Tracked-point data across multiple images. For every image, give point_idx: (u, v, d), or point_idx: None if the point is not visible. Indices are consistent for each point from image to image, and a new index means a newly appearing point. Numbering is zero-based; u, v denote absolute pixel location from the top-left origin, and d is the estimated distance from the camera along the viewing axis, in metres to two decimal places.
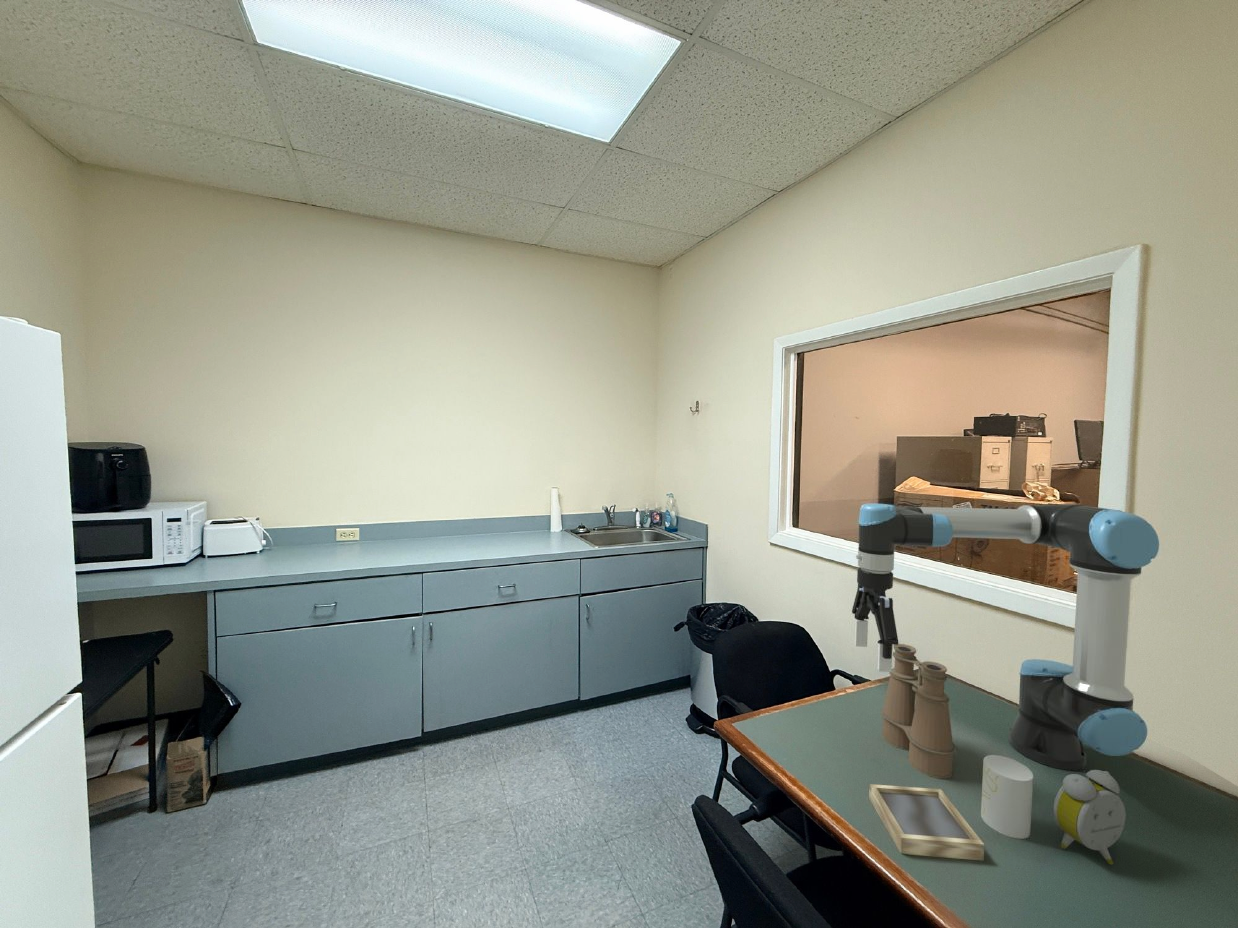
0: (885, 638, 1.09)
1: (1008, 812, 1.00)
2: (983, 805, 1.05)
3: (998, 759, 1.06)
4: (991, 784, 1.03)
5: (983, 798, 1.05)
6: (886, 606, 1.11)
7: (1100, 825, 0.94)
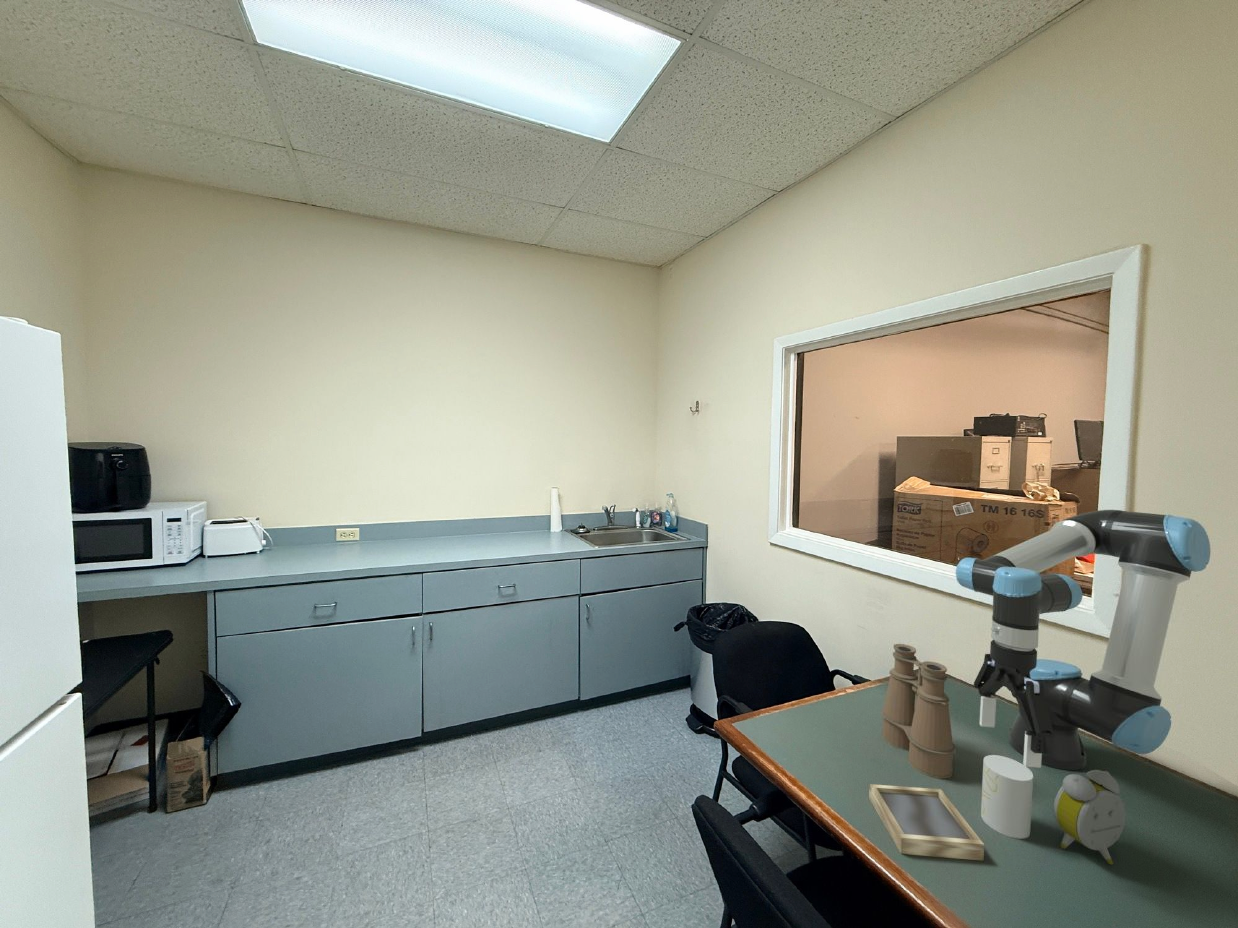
0: (1037, 730, 0.93)
1: (1008, 812, 1.00)
2: (983, 805, 1.05)
3: (998, 759, 1.06)
4: (991, 784, 1.03)
5: (983, 798, 1.05)
6: (1035, 691, 0.96)
7: (1100, 825, 0.94)
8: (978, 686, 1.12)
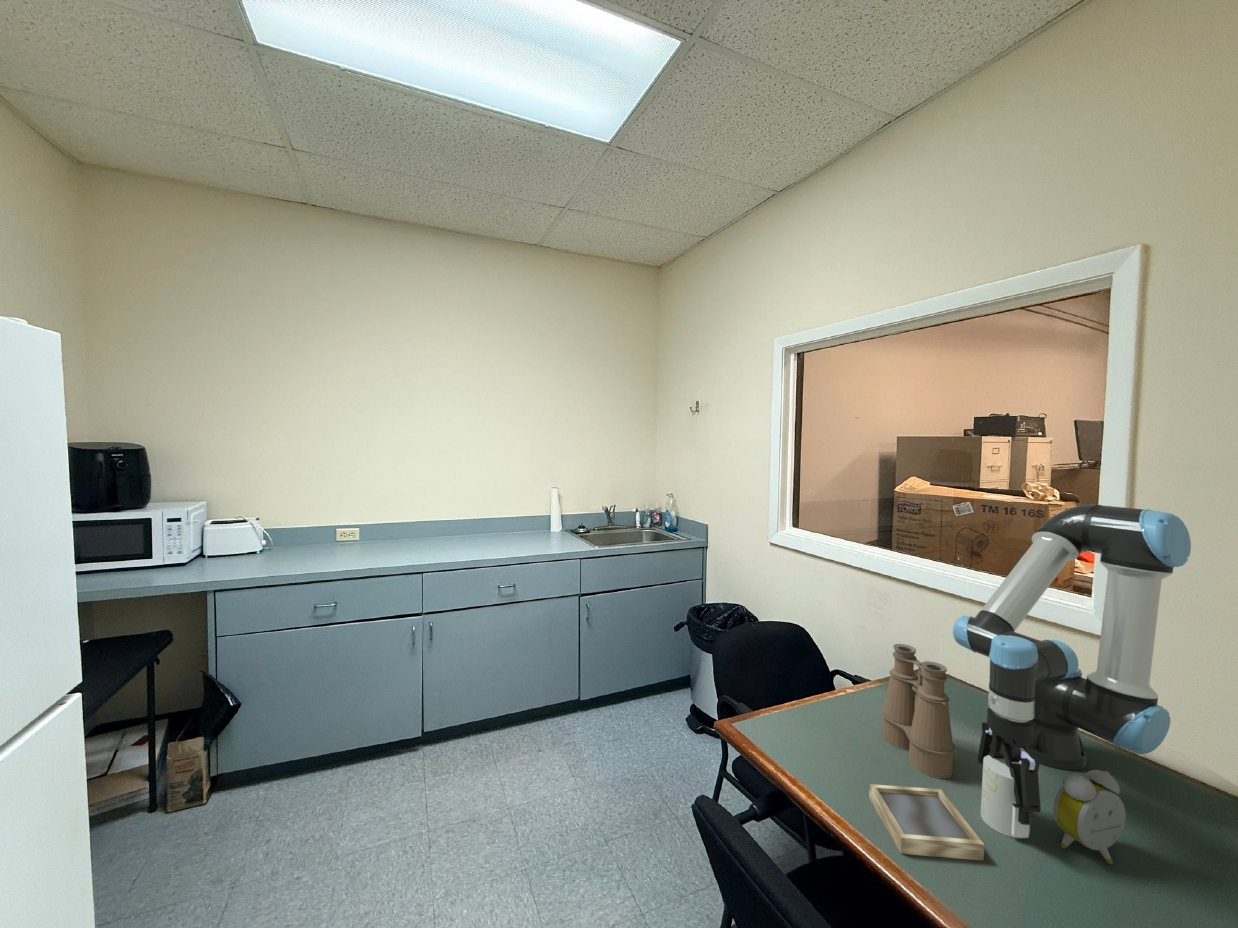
0: (1025, 804, 0.97)
1: (1008, 812, 1.00)
2: (983, 805, 1.05)
3: (998, 758, 1.06)
4: (991, 784, 1.03)
5: (983, 798, 1.05)
6: (1030, 769, 0.97)
7: (1100, 825, 0.94)
8: (982, 762, 1.10)
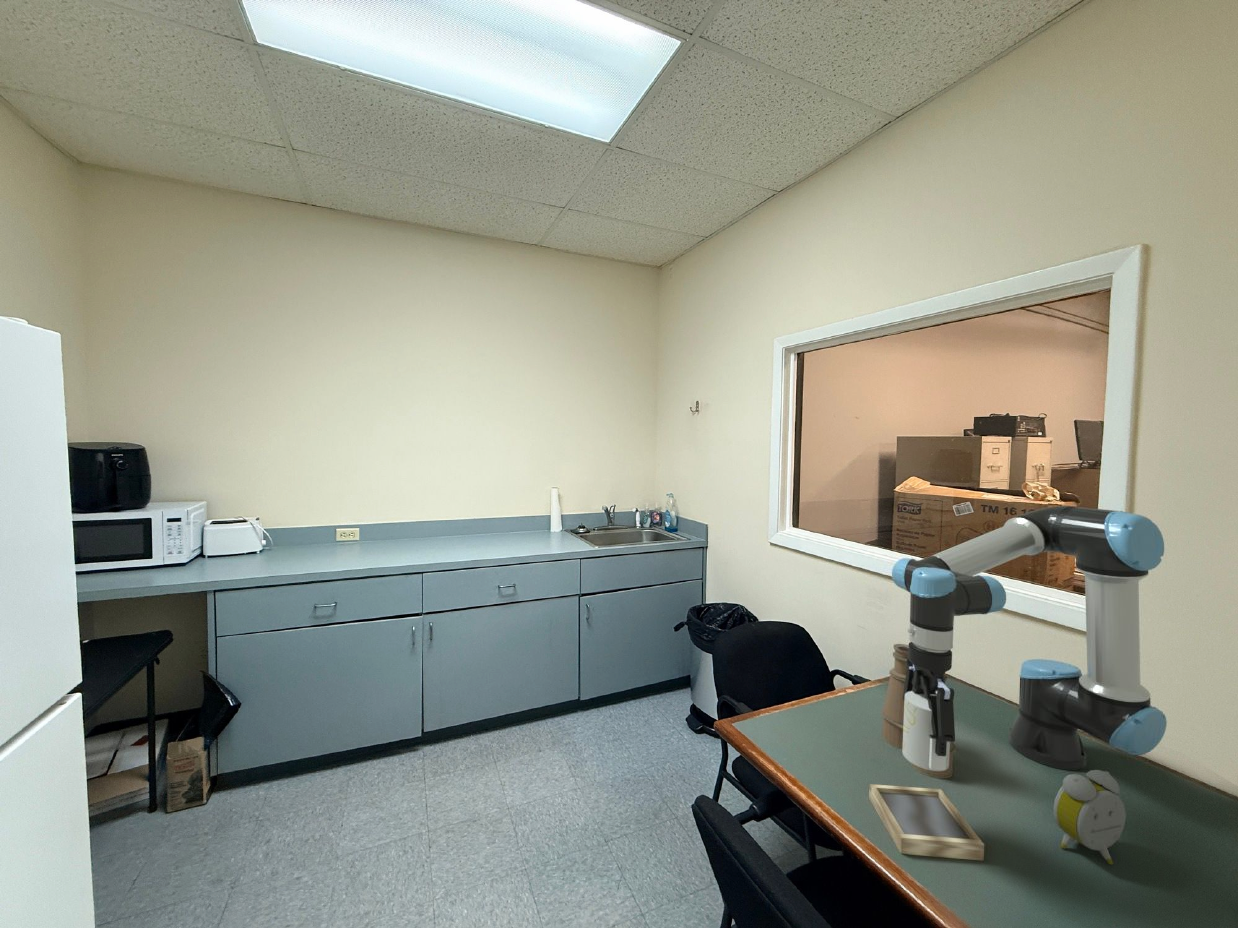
0: (940, 734, 0.94)
1: (926, 744, 0.98)
2: (903, 740, 1.03)
3: (920, 694, 1.04)
4: (910, 717, 1.01)
5: (903, 733, 1.03)
6: (945, 698, 0.95)
7: (1100, 825, 0.94)
8: None
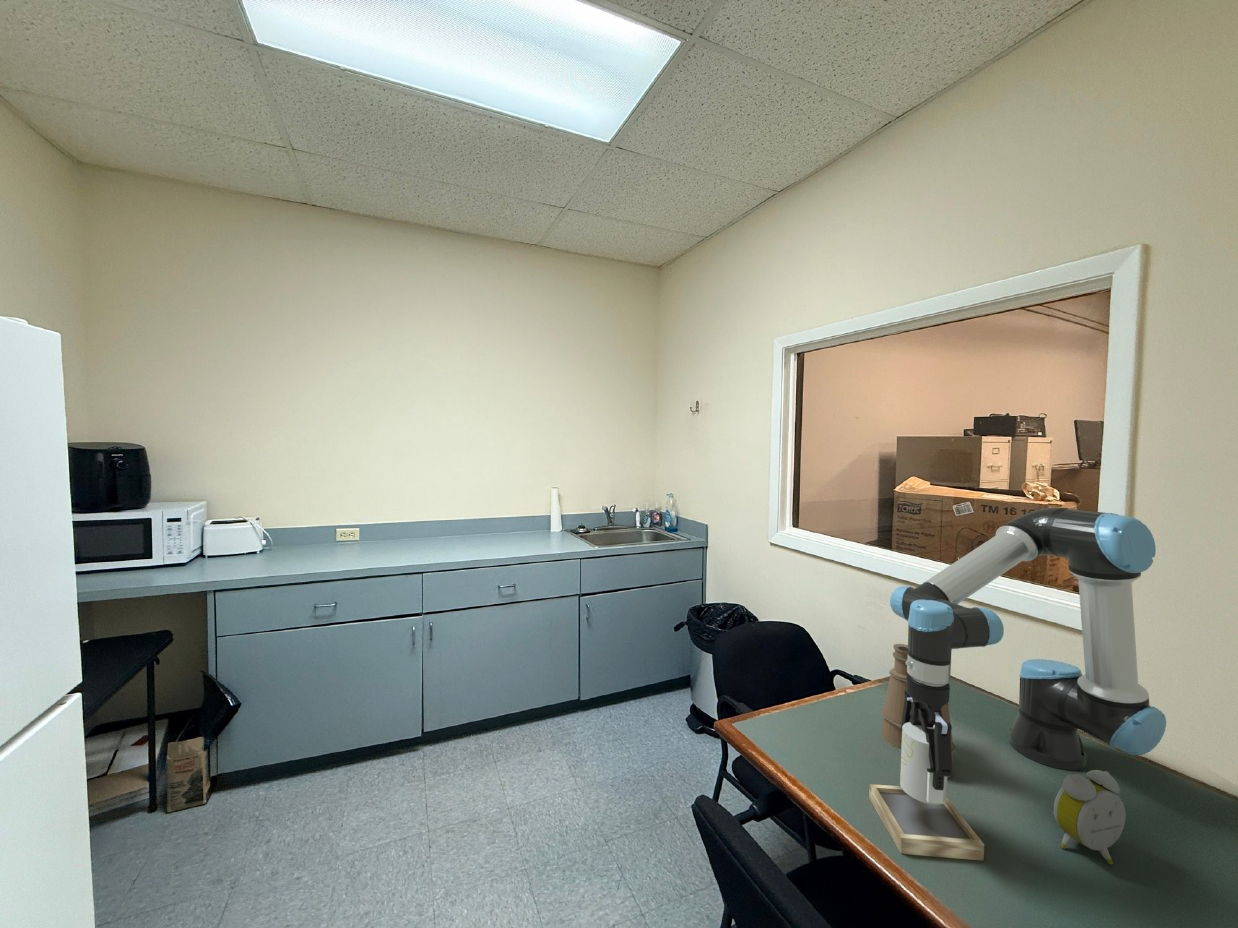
0: (937, 769, 0.95)
1: (923, 778, 0.99)
2: (901, 772, 1.03)
3: (918, 725, 1.04)
4: (908, 750, 1.01)
5: (901, 765, 1.03)
6: (943, 733, 0.95)
7: (1100, 825, 0.94)
8: None
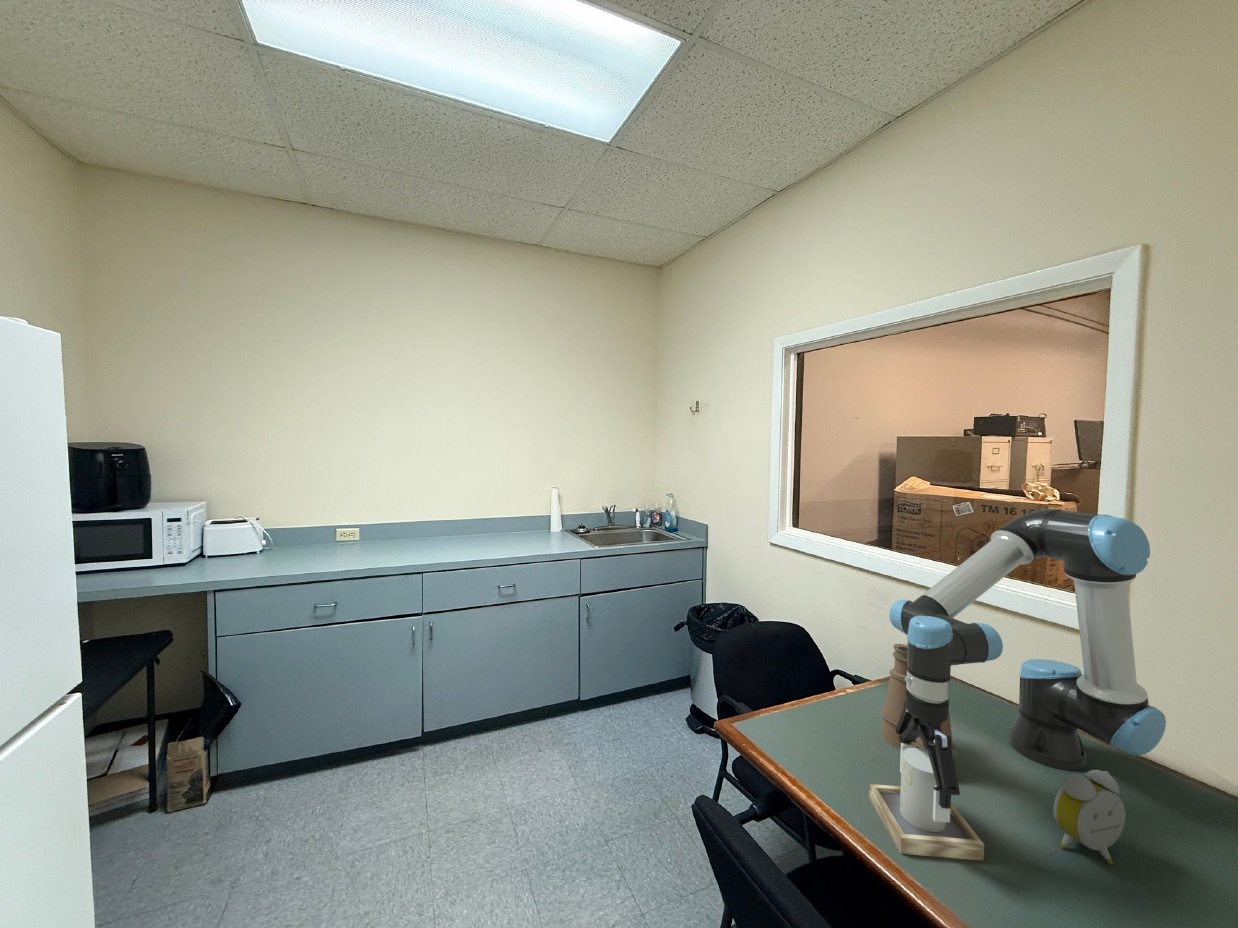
0: (944, 786, 0.93)
1: (923, 805, 0.99)
2: (901, 798, 1.03)
3: (917, 751, 1.05)
4: (907, 777, 1.01)
5: (901, 791, 1.03)
6: (943, 746, 0.95)
7: (1100, 825, 0.95)
8: (899, 732, 1.11)
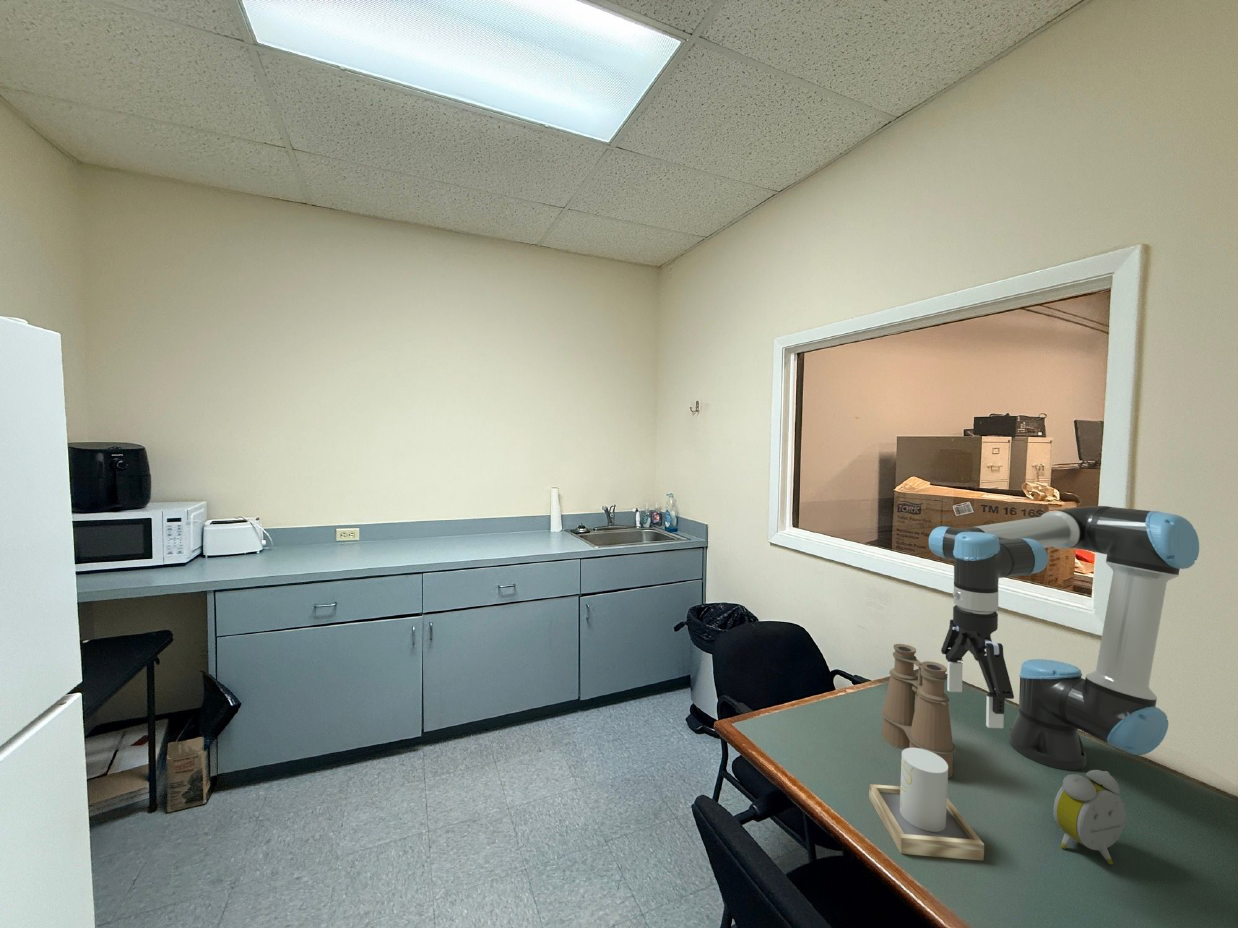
0: (997, 691, 0.94)
1: (922, 805, 0.99)
2: (901, 798, 1.03)
3: (917, 751, 1.05)
4: (907, 777, 1.01)
5: (901, 791, 1.04)
6: (995, 653, 0.96)
7: (1100, 825, 0.94)
8: (945, 652, 1.12)
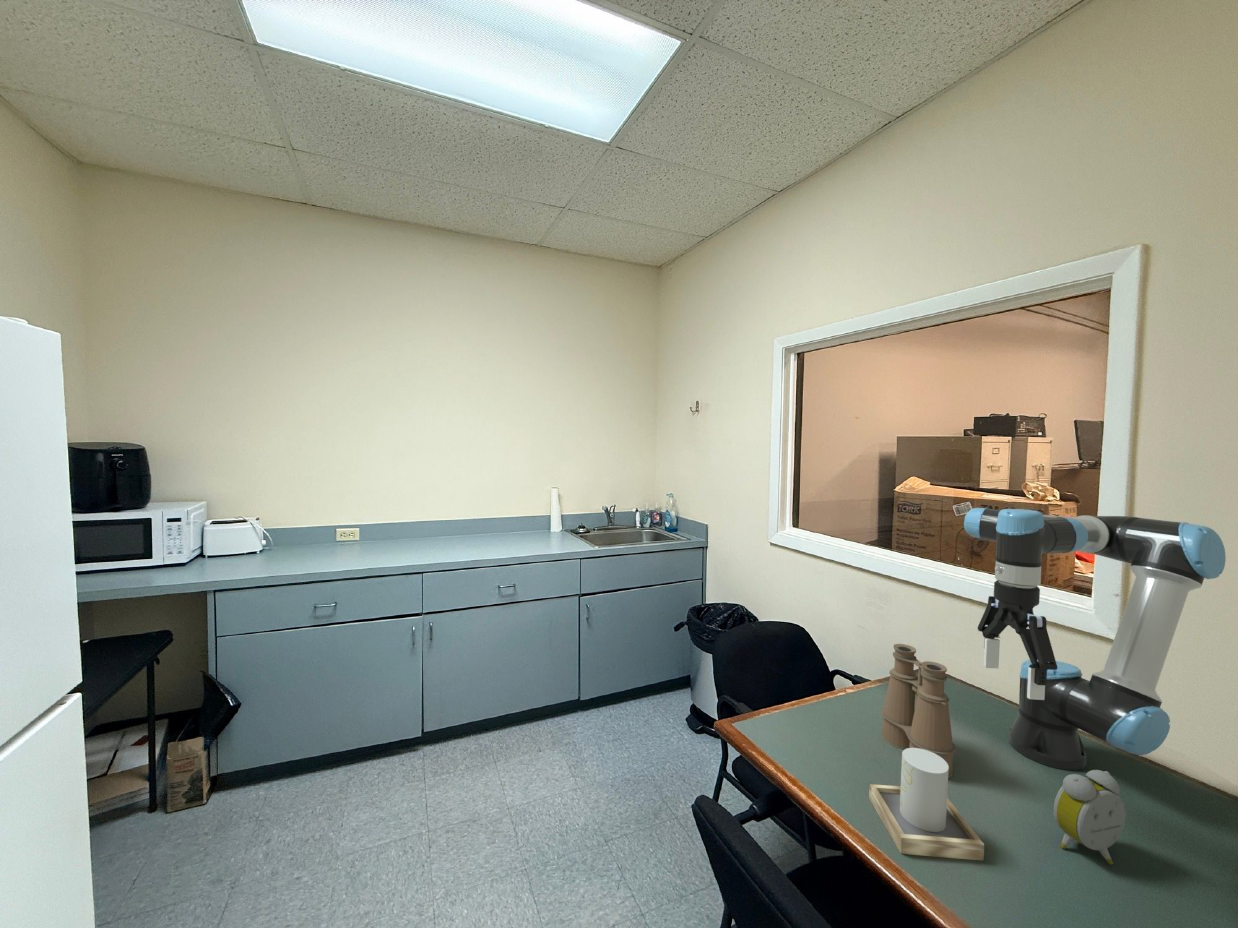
0: (1041, 662, 0.96)
1: (922, 805, 0.99)
2: (901, 798, 1.03)
3: (917, 751, 1.05)
4: (907, 777, 1.01)
5: (901, 791, 1.03)
6: (1038, 625, 0.98)
7: (1100, 825, 0.94)
8: (982, 629, 1.14)
